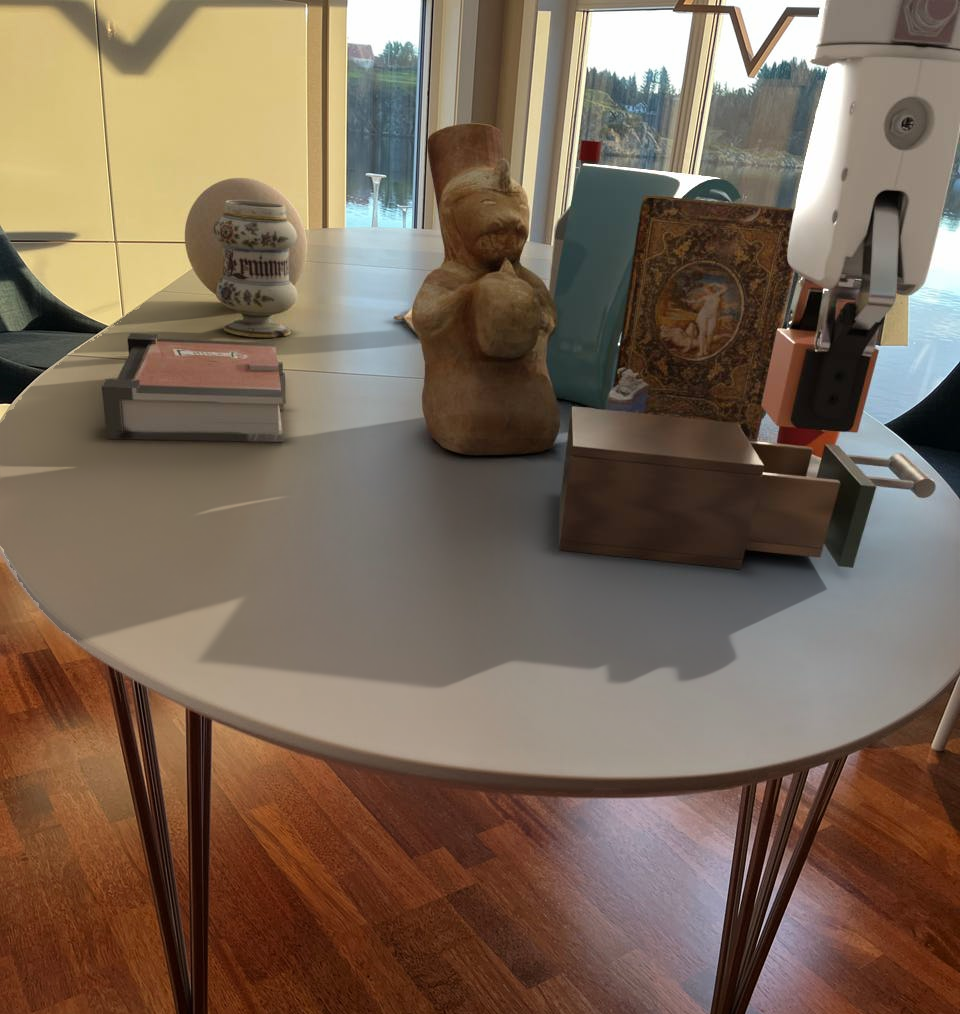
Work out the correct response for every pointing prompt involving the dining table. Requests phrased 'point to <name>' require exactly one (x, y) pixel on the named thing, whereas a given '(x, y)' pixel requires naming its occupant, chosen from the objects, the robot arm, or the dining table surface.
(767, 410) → the block
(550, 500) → the dining table surface
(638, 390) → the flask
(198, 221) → the decorative sphere
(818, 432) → the coffee cup
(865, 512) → the drawer
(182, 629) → the dining table surface
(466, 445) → the ceramic vessel
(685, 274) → the book
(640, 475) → the cabinet
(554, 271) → the liquor
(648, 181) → the curved teal holder
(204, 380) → the book
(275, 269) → the apothecary jar
